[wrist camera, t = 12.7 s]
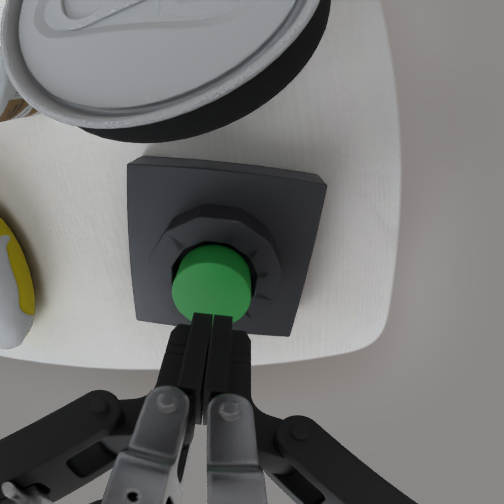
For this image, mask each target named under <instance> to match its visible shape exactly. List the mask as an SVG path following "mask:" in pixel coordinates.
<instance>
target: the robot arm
mask: <svg viewBox="0 0 504 504" xmlns="http://www.w3.org/2000/svg"><path fill="white" fill-rule="evenodd" d="M212 322H213V326H212ZM232 322H233V316H224V315H215V314H214V319H213V314H206V313H198V312H194V314H193V318H192V322H191V325H187V324H178V325H177V326H176V327H175V328H174V329H173V331H172V332H171V334H170V338H169V341H168V344H167V348H166V353H165V355H164V358H163V362H162V365H161V369H160V373H159V376H158V380H157V383H156V386H155V388H154V389H153V390H151V391H150V392H149V393H148V394H147V395H146V396H144V397H141V398H137V399H127V400H118V399H117V397H116V396H115V395H113V394H112V393H110V392H108V391H105V390H94V391H91V392H89V393H87V394H86V395H84V396H82V397H80V398H78V399H76V400H75V401H73V402H71V403H69V404H67V405H66V406H64V407H62V408H60V409H58V410H56V411H55V412H53V413H51V414H49V415H47V416H45V417H43V418H42V419H40V420H38V421H36V422H34V423H32V424H30V425H28V426H26V427H24V428H23V429H21V430H19V431H17V432H15V433H13V434H11V435H9V436H7V437H5V438H3V439H1V440H0V504H53V502H55V501H57V500H59V499H61V498H62V497H64V496H66V495H68V494H70V493H71V492H73V491H75V490H77V489H78V488H80V487H82V486H84V485H85V484H87V483H89V482H90V481H92V480H94V479H95V478H97V477H99V476H100V475H102V474H103V473H105V472H107V471H108V470H110V469H111V468H113V469H112V472H111V475H110V478H109V481H108V484H107V486H106V489H105V492H104V495H103V499H101V500H98V501H95V502H92V503H90V504H181V497H182V487H183V481H184V476H185V471H186V467H187V463H188V458H189V453H190V449H191V445H192V439H193V435H194V427H195V424H200V425H201V423H202V415H203V425H207V504H268V503H267V495H266V487H265V478H264V473H263V470H264V471H265V473H266V474H267V475H268V476H269V477H270V478H271V479H272V480H273V481H274V482H275V483H276V484H277V485H278V486H279V487H280V488H281V489H282V490H283V491H284V492H285V493H286V494H287V495H288V496H289V497H290V498H291V499H292V500H293V501H295V502H296V503H297V504H417V503H416V502H415V501H413V500H411V499H410V498H409V497H408V496H406V495H404V494H403V493H402V492H401V491H399V490H398V489H397V488H395V487H394V486H393V485H391V484H390V483H388V482H387V481H386V480H384V479H383V478H382V477H381V476H379V475H378V474H377V473H376V472H374V471H373V470H372V469H370V468H369V467H368V466H367V465H365V464H364V463H363V462H362V461H361V460H359V459H358V458H357V457H356V456H354V455H353V454H352V453H351V452H350V451H348V450H347V449H346V448H345V447H344V446H342V445H341V444H340V443H339V442H338V441H337V440H335V439H334V438H333V437H332V436H331V435H330V434H328V433H327V432H326V431H325V430H324V429H323V428H322V427H320V426H319V425H318V424H317V423H316V422H315V421H313V420H312V419H310V418H308V417H305V416H299V415H297V416H290V417H287V418H285V419H284V420H282V419H279V418H276V417H273V416H269V415H267V414H265V413H263V412H261V411H260V410H259V409H258V408H257V407H256V406H255V405H254V403H253V401H252V398H251V340H250V339H249V337H248V335H247V333H246V331H240V330H232Z"/></svg>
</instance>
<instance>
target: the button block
mask: <svg viewBox="0 0 504 504" xmlns="http://www.w3.org/2000/svg"><path fill="white" fill-rule="evenodd" d="M326 189H327V184H326V183H325V182H324V181H323V180H322V179H321V178H320V177H319V176H318V175H316V174H310V173H304V172H297V171H291V170H284V169H277V168H270V167H262V166H254V165H246V164H237V163H228V162H218V161H207V160H195V159H182V158H166V157H147V156H141V157H139V158H137V159H136V160H134V161H132V162H130V163H128V164H127V211H128V235H129V251H130V264H131V275H132V285H133V294H134V302H135V310H136V318H137V320H140V321H146V322H153V323H159V324H166V325H173V326H177V325H178V324H187V325H191V322H192V321H191V320H189V319H188V318H186V317H185V316H184V315H183V314H182V313H181V312H180V311H179V310H178V309H177V307H176V305H175V303H174V301H173V297H172V286H173V282H174V280H175V277H176V274H177V272H178V269H179V266H180V264H181V261H182V260H183V258H184V257H185V256H186V255H187V254H188V253H189V252H190V251H192V250H193V249H195V248H197V247H200V246H204V245H221V246H225V247H228V248H230V249H232V250H234V251H236V252H237V253H238V254H240V255H241V256H242V257H243V259H244V260H245V261H246V263H247V264H248V267H249V269H250V274H251V302H250V306H249V308H248V310H247V311H246V313H245V314H244V315H243V316H242V317H241V318H240V319H239V320H237V321H235V322H234V323H232V330H240V331H246V333H247V334H257V335H270V336H285V337H289V336H290V333H291V330H292V327H293V323H294V319H295V316H296V312H297V309H298V305H299V301H300V298H301V294H302V290H303V286H304V282H305V279H306V275H307V271H308V267H309V263H310V259H311V255H312V251H313V247H314V242H315V238H316V234H317V230H318V225H319V221H320V217H321V212H322V208H323V203H324V198H325V194H326Z"/></svg>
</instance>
